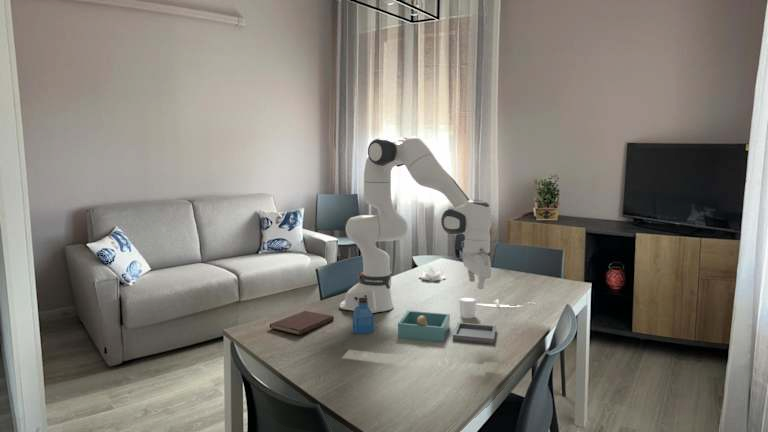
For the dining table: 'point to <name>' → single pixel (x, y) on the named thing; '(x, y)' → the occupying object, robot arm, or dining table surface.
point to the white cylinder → (467, 307)
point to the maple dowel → (422, 320)
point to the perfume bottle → (362, 318)
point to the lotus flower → (432, 275)
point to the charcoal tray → (474, 333)
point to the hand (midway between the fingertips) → (475, 284)
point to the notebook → (301, 322)
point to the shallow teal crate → (424, 326)
